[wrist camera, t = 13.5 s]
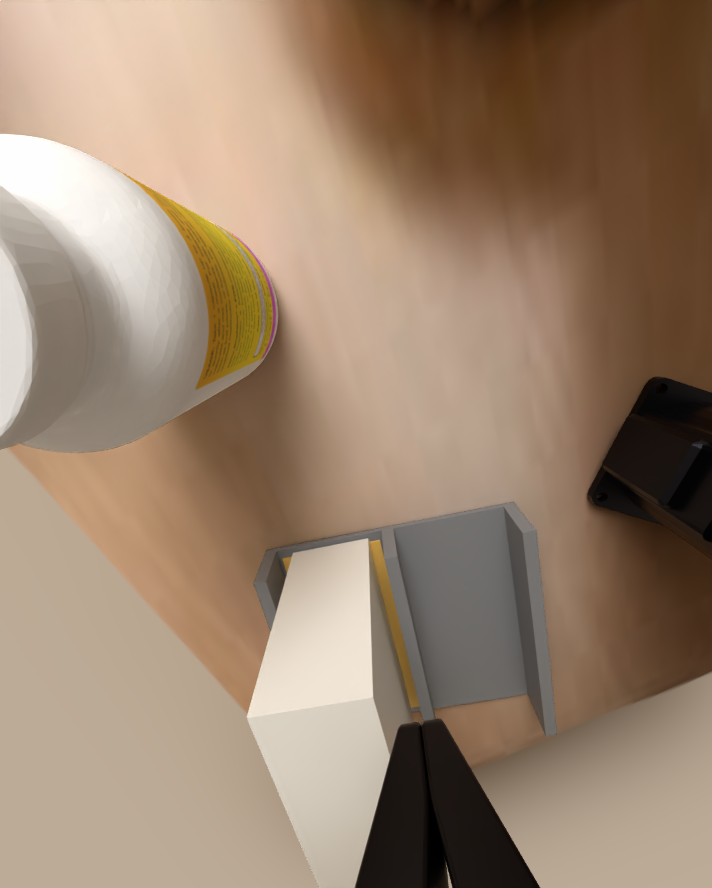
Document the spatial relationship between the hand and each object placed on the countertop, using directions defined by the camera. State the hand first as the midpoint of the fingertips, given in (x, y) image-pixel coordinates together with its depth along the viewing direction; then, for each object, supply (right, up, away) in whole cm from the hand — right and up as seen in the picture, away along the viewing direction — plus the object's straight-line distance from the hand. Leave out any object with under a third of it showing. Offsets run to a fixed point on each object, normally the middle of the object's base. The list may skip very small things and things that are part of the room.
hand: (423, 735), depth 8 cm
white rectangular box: (-1, -5, +15) cm, 16 cm away
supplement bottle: (-8, +12, +10) cm, 17 cm away
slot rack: (+2, -5, +15) cm, 16 cm away
